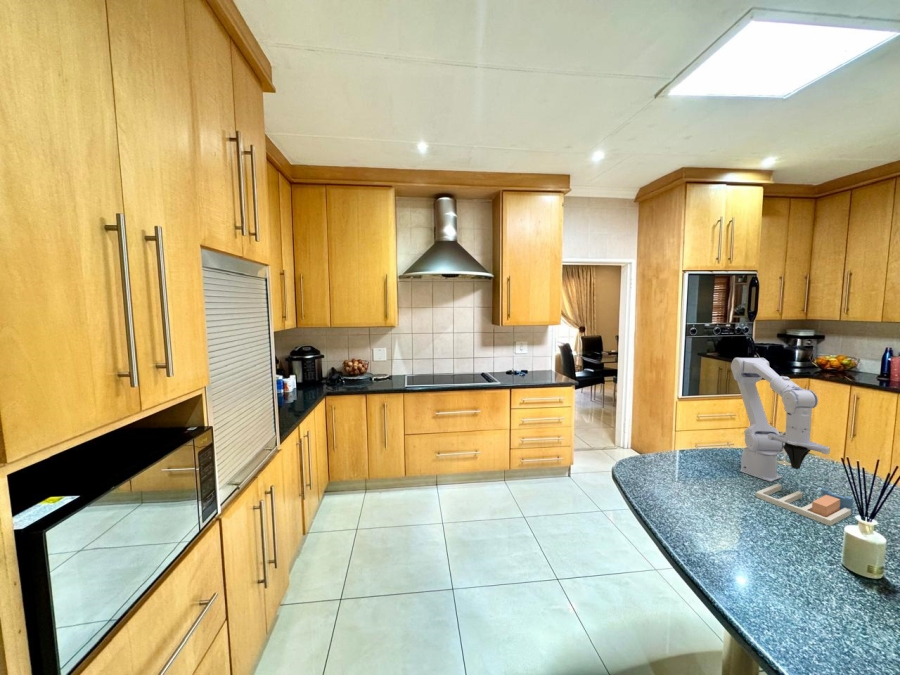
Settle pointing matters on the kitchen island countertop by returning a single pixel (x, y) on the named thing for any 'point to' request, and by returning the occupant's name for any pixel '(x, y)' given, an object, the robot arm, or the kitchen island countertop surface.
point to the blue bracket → (844, 501)
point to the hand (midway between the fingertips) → (795, 467)
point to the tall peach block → (826, 506)
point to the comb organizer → (803, 511)
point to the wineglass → (784, 454)
